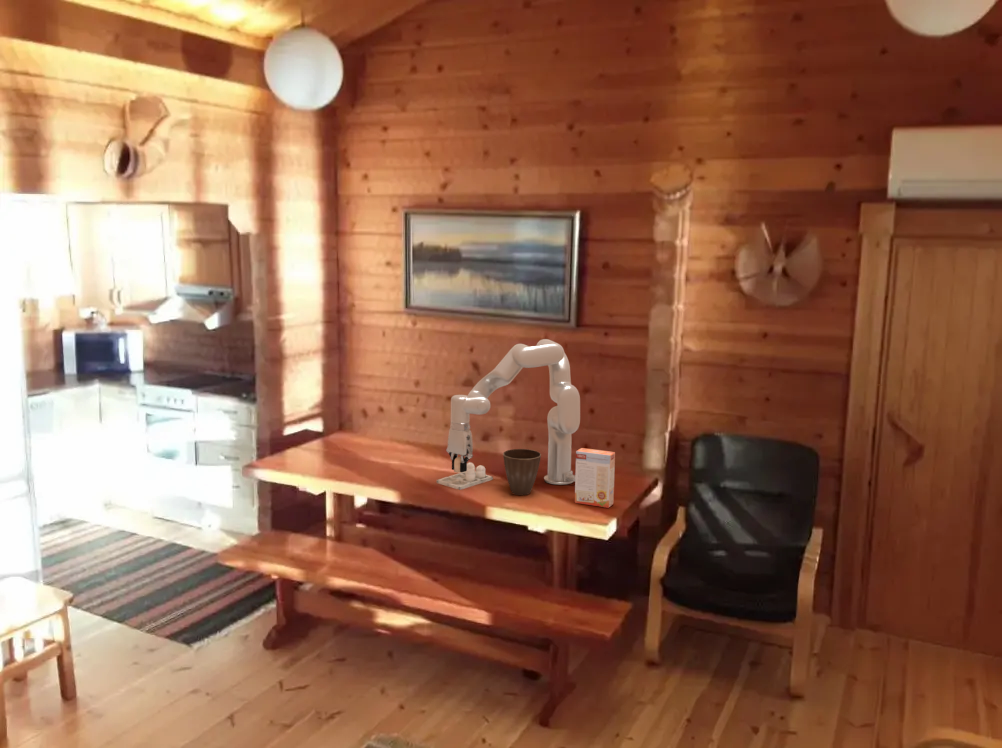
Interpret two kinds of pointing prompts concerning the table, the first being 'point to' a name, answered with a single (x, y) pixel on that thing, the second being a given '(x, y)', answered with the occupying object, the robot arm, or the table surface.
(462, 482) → the white egg tray
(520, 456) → the plant pot
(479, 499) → the table surface
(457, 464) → the tan egg
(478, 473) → the cream egg
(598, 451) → the cracker box
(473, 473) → the cream egg
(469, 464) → the cream egg
